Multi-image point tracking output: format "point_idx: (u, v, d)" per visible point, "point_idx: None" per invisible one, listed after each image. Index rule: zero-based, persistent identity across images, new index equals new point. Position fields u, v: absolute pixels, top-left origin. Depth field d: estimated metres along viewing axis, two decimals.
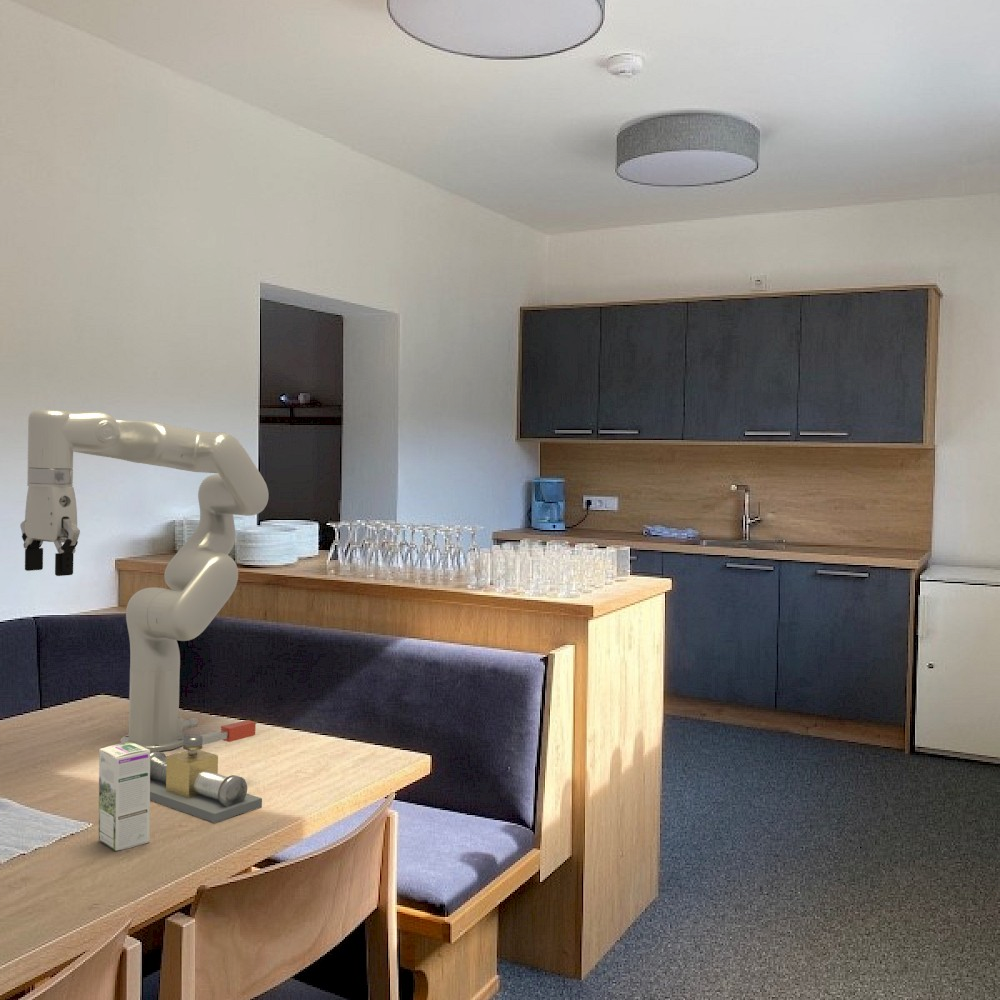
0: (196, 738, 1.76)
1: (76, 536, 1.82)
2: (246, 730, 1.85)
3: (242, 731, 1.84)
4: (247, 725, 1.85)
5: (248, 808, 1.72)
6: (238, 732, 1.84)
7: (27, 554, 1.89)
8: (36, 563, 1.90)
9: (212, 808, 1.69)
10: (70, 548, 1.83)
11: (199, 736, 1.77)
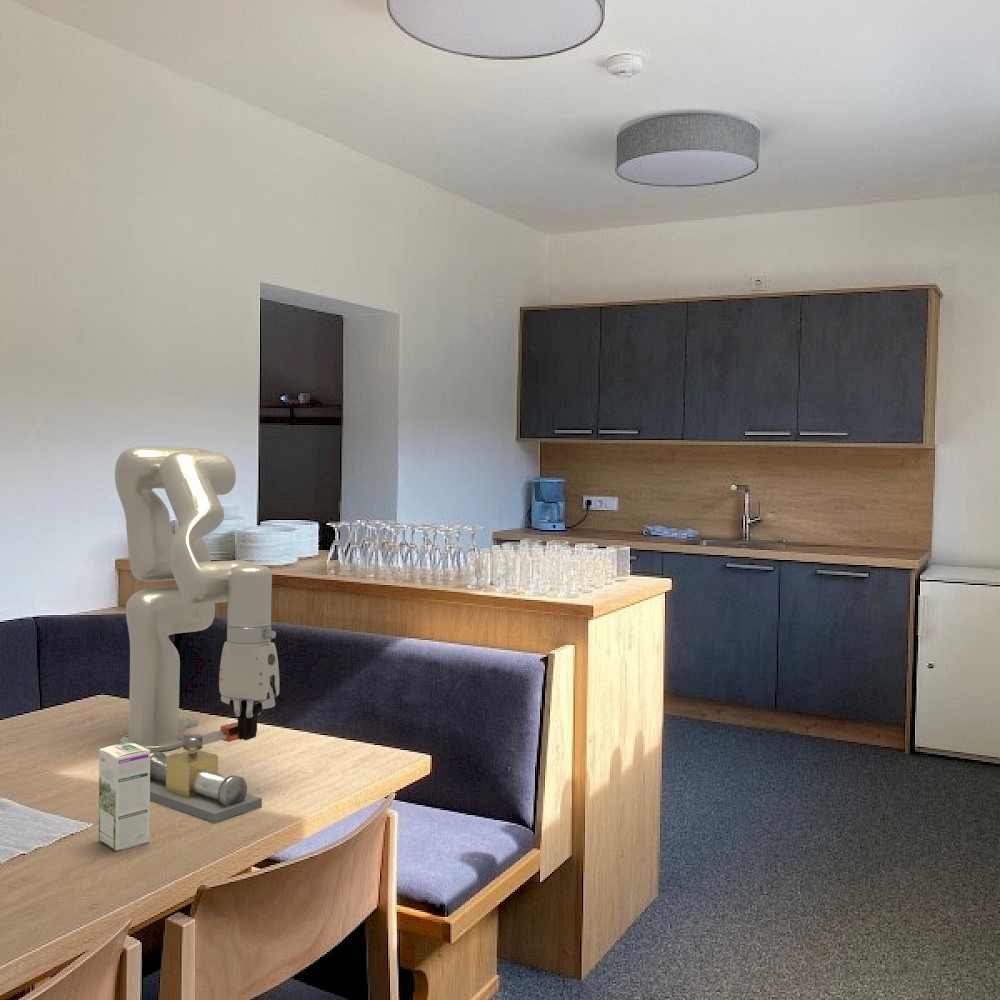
0: (196, 738, 1.76)
1: None
2: None
3: None
4: None
5: (248, 808, 1.72)
6: (237, 732, 1.84)
7: (241, 722, 1.82)
8: None
9: (212, 808, 1.69)
10: (259, 711, 1.82)
11: (199, 736, 1.77)
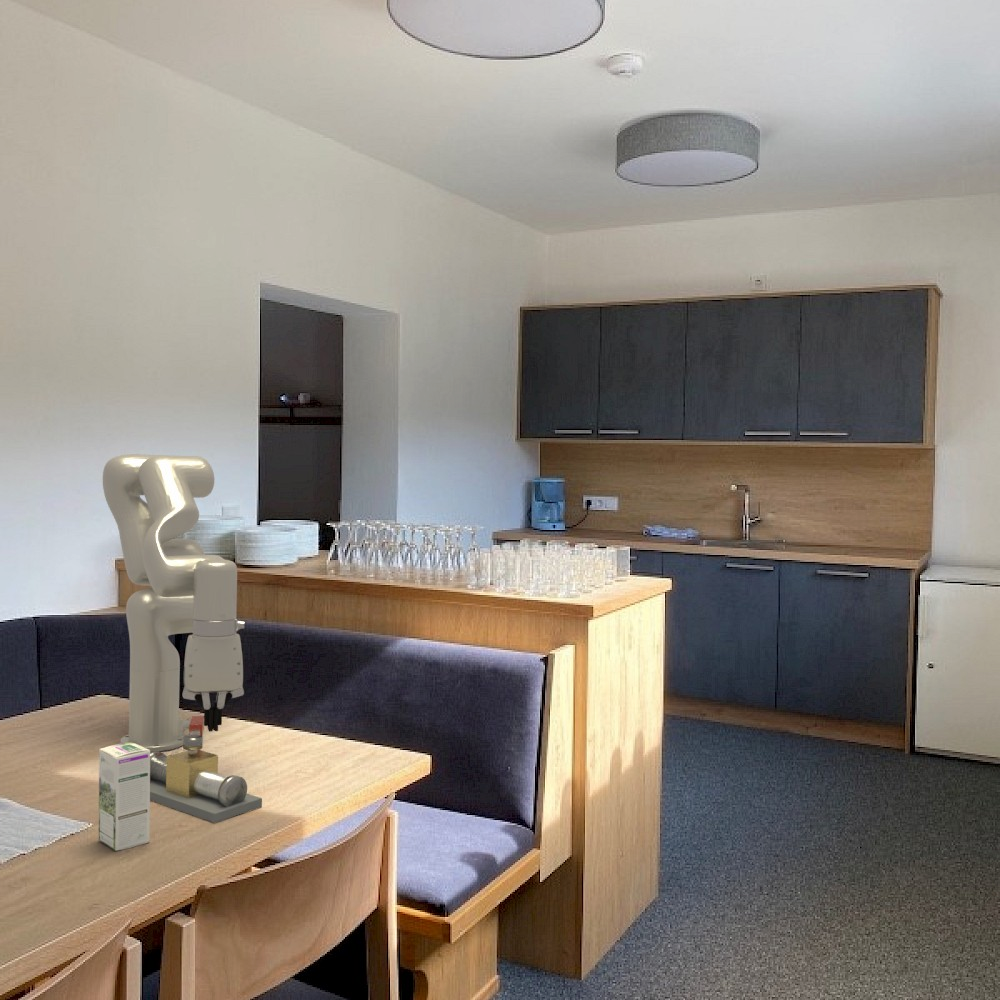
0: (199, 737, 1.77)
1: None
2: (203, 725, 1.88)
3: None
4: (203, 720, 1.88)
5: (248, 808, 1.72)
6: None
7: (212, 714, 1.85)
8: None
9: (212, 808, 1.69)
10: (226, 701, 1.87)
11: (196, 735, 1.78)
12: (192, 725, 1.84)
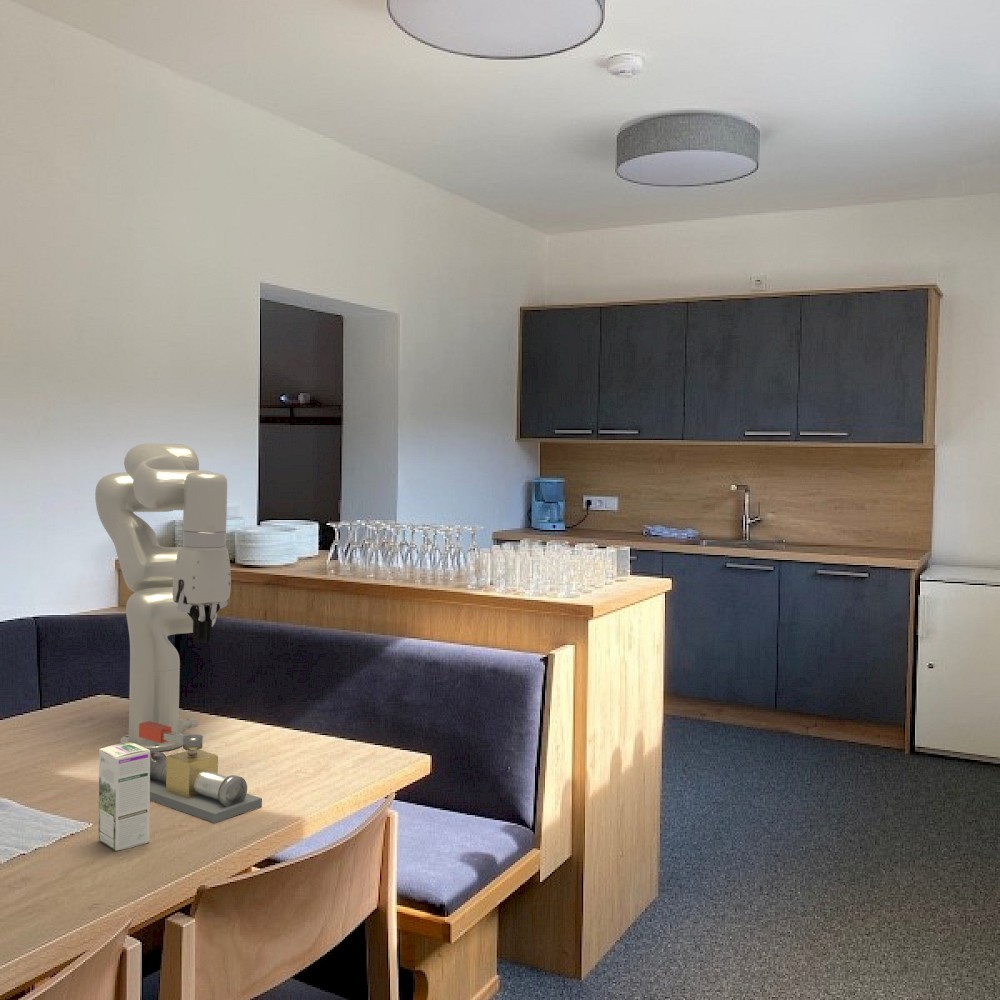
0: (198, 736, 1.78)
1: None
2: None
3: None
4: None
5: (248, 808, 1.72)
6: None
7: (207, 626, 1.86)
8: None
9: (212, 808, 1.69)
10: None
11: (190, 735, 1.78)
12: (163, 729, 1.80)
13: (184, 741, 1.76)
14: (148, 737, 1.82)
